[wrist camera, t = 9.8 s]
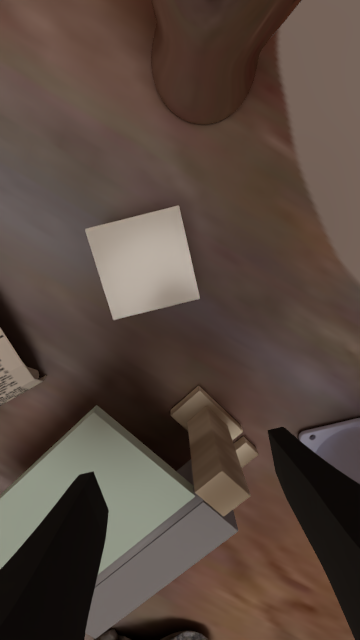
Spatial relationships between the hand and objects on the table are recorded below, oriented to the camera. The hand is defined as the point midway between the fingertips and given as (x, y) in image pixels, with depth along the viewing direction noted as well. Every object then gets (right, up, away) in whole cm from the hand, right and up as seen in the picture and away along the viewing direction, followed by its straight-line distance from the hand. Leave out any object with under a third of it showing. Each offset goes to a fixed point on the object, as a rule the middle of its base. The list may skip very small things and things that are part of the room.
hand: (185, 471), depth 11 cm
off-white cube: (-2, +10, +8) cm, 13 cm away
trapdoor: (-6, -6, +10) cm, 13 cm away
